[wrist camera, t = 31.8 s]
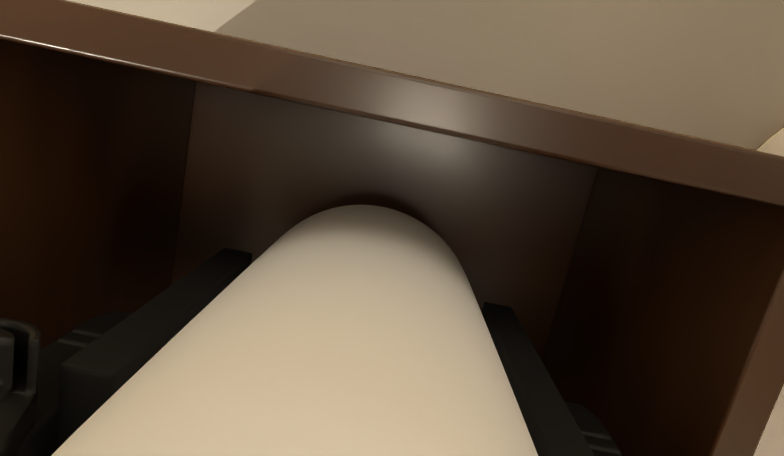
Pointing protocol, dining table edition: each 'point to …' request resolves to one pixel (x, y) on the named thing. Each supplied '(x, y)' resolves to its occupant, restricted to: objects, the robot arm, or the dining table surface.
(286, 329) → the can
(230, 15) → the dining table surface
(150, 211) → the bin
